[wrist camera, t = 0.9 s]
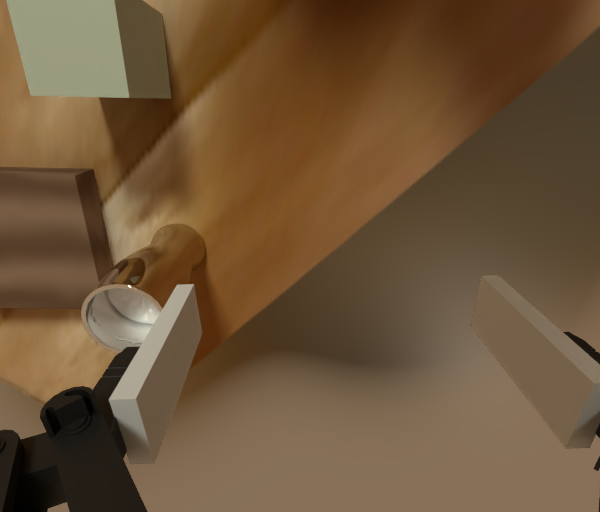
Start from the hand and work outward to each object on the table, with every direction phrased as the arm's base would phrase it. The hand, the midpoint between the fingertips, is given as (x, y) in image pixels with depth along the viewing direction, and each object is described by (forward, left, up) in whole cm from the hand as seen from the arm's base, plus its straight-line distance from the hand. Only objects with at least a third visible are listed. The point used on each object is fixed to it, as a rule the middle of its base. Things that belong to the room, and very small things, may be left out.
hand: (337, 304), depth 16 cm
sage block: (-12, -17, -24) cm, 32 cm away
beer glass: (+7, -15, -25) cm, 30 cm away
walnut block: (+6, -30, -25) cm, 40 cm away
